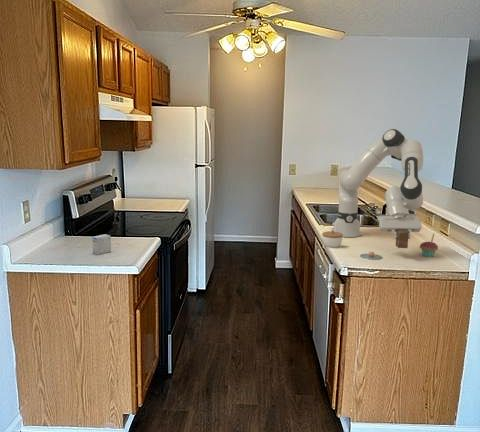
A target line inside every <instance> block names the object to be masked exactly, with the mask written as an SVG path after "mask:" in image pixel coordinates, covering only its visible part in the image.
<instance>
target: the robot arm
mask: <svg viewBox="0 0 480 432" xmlns="http://www.w3.org/2000/svg"><path fill="white" fill-rule="evenodd" d="M388 156H390V157H391V158H392V159H393V160H394V159H395V160H397V161H401V167H402V170H403V171H404V177H403V181H402V182H401V184H400V186H397V185H395V186H390V187H389V188H387V190H386V192H385V193H384V198H385V205H386V207H387V214H380V215H378V216H377V221H378V228H379V229H378V230H379V231H380V232H383V233H384V232H387V233H390V234H391V235H392V236H393V239H395V240H396V239H398V234H396V233H397V230H406V231H408V232H409V236H408V240H410V239H411V234H412V233H419V232H420V231H421V229H422V227H423V226H422V223H421V219H420V217H419V216H417V214H418V213H417V211H416V210H417V209H419V208H420V207H422V205H423V204H424V195H423V184H422V182H421V180H420V179H419V172H420V171H421V170H422V169H423V166H424V165H423V164H424V152H423V147H422V144H421V142H420V141H418V140H416V139H409V140H408V139H407V138H406V137H405V136H404V135H403V133H402V132H401V131H399V130H398V129H396V128H391V129H388V130H387V131H385V132H384V134H383V135H382V137H381V138H379V139H378V140H376V141H374V142H373V143H372V144H370V145H369V146H368V147H367V148H366V149H365V150H364V151H363V152H362V153H361V154H360V155H359V157H358V158H356V160H355V162H354V163H353V164H352V166H351V167H350V168H349V169H345V170H342V171H341V172H340V174H339V176H338V211H337V213H336V214H337V215H336V216H337V218H336V219H335V221H334V222H332V227H331V230H330V231H332V230H333V231H334V232H339V233H342V234H343V236H342V238H357V237H360V236H363V233H362V232H361V222H360V221H359V220H358V218H359V212H358V208H359V207H358V206H359V198H358V197H359V196H358V189H360V187H361V186H362V184H363V183H364V182H365V181H366V179H367V178H368V176H369V175H370V174H371V173H372V171H373V170H374V169H375V168H377V166H378V165H379V164H380V163H382V161H383V160H384V159H385V158H386V157H388Z"/></svg>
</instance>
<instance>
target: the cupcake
mask: <svg viewBox="0 0 480 432" xmlns="http://www.w3.org/2000/svg"><path fill="white" fill-rule="evenodd" d="M434 237H435V233H433V234H432V236H431V240H430V241H424V242H422V243H420V245H419V249H420V250H421V251H422V255H423V256H424V257H430V258H431V257H433V256H434V255H435V252H436V251H438V249H439V246H438V244H436V243H435V242H433V241H434Z"/></svg>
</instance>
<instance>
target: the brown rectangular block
mask: <svg viewBox="0 0 480 432" xmlns="http://www.w3.org/2000/svg"><path fill="white" fill-rule="evenodd" d="M395 233H396V234H398V239H395V247H397V248H398V249H408V247H409V246H408V245H409V239H408V236H409V232H408V231H406V230H397V232H395Z"/></svg>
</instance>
